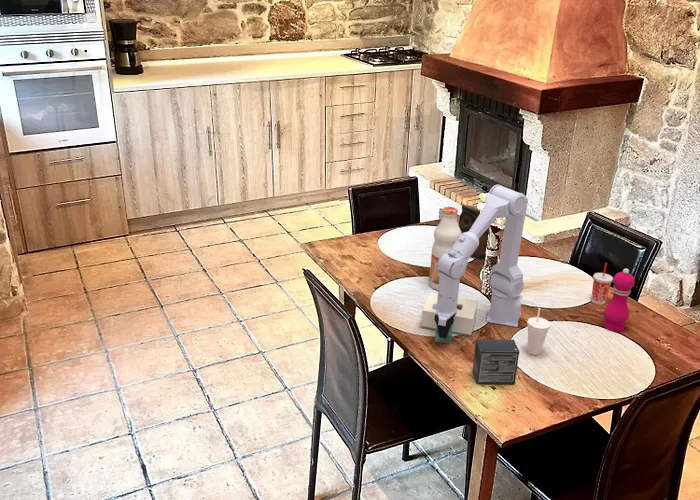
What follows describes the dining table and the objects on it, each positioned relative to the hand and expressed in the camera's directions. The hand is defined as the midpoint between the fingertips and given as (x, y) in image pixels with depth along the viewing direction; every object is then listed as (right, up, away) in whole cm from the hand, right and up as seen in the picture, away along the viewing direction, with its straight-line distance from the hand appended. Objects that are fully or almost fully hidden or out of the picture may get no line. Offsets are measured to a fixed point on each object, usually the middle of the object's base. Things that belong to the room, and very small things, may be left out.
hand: (443, 334), depth 198 cm
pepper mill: (+54, +1, +12) cm, 56 cm away
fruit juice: (+4, +13, +33) cm, 36 cm away
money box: (+3, +3, +10) cm, 11 cm away
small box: (+11, -10, -15) cm, 21 cm away
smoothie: (+26, -5, -3) cm, 26 cm away
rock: (+21, +24, +58) cm, 66 cm away
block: (0, -2, +1) cm, 2 cm away
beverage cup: (+55, +8, +27) cm, 62 cm away
